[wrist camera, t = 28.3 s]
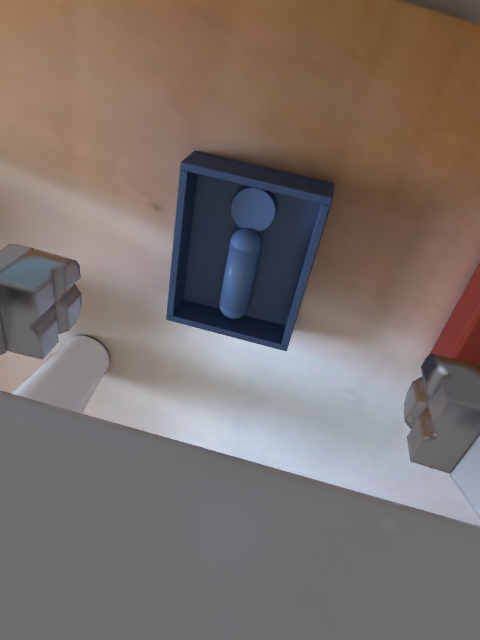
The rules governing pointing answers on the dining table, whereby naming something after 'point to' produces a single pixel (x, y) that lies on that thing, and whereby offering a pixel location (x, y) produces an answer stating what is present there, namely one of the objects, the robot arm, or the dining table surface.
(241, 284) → the blue spoon
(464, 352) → the red bin
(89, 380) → the drinking glass
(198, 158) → the blue bin
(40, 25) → the dining table surface
